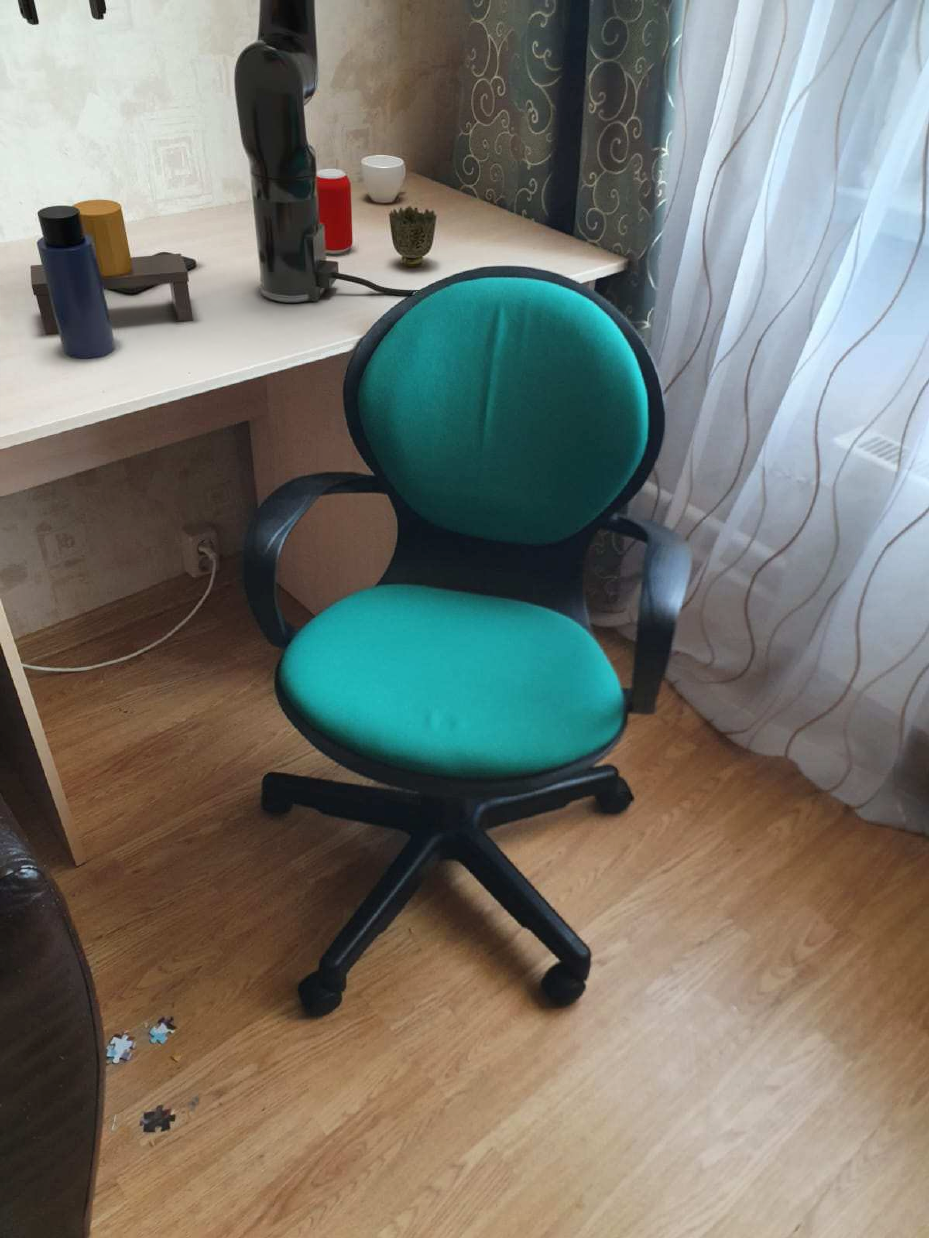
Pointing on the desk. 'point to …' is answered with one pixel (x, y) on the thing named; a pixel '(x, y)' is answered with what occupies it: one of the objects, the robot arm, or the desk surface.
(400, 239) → the cup
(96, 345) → the flask
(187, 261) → the phone
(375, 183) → the cup
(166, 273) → the small brown bench
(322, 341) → the desk surface
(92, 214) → the cap
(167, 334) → the desk surface
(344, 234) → the beverage can
